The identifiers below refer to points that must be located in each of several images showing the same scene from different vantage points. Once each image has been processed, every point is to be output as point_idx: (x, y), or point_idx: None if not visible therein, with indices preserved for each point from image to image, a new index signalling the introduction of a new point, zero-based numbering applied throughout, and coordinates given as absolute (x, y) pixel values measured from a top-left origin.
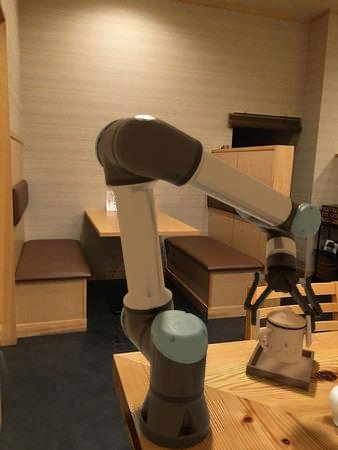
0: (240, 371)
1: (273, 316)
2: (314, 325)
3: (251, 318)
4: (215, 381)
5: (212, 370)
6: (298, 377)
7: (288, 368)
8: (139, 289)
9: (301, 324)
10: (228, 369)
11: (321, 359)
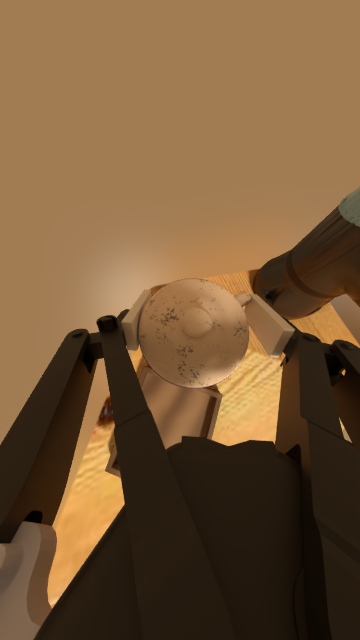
0: (225, 397)
1: (234, 315)
2: (120, 315)
3: (289, 322)
4: (255, 365)
5: (262, 391)
6: (152, 389)
7: (160, 411)
8: None
9: (160, 290)
10: (241, 399)
11: (99, 463)
